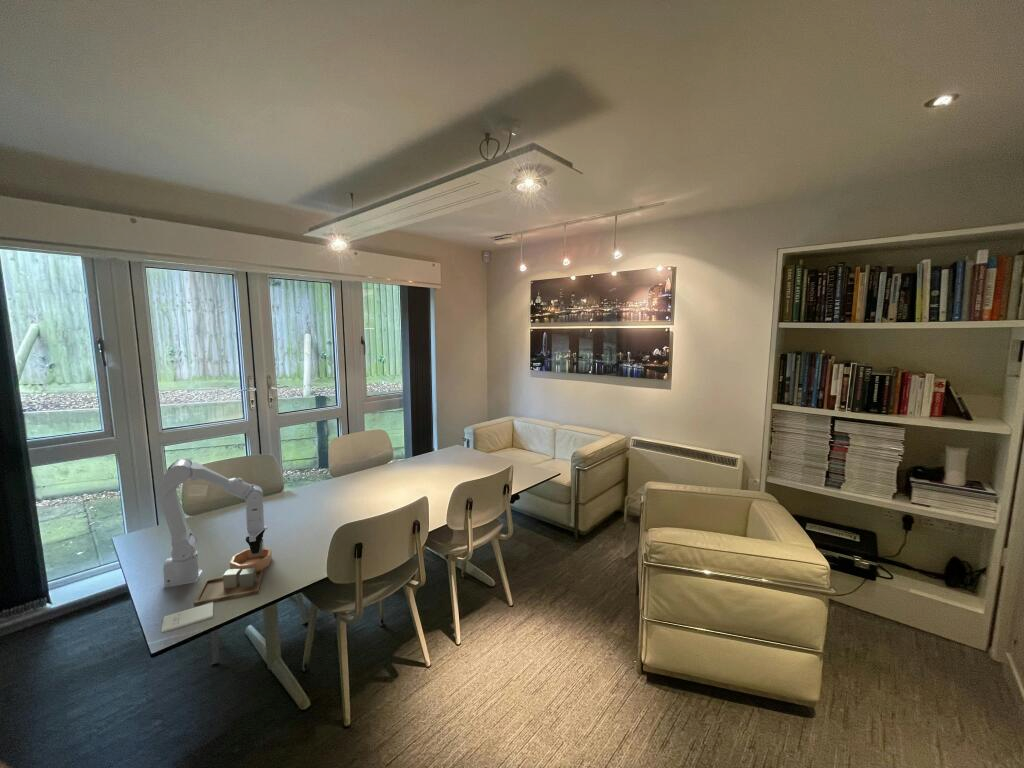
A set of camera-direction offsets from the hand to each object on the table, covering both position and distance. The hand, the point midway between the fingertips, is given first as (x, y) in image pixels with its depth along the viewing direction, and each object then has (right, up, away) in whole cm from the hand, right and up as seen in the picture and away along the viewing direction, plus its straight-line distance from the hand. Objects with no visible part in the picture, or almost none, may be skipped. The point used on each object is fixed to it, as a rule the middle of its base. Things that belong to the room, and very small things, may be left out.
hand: (256, 550), depth 158 cm
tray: (+1, -7, -15) cm, 17 cm away
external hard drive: (-2, -10, -31) cm, 32 cm away
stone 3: (0, -1, 0) cm, 2 cm away
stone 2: (+6, -7, -13) cm, 16 cm away
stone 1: (0, -7, -14) cm, 16 cm away
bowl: (-1, -5, -1) cm, 6 cm away
